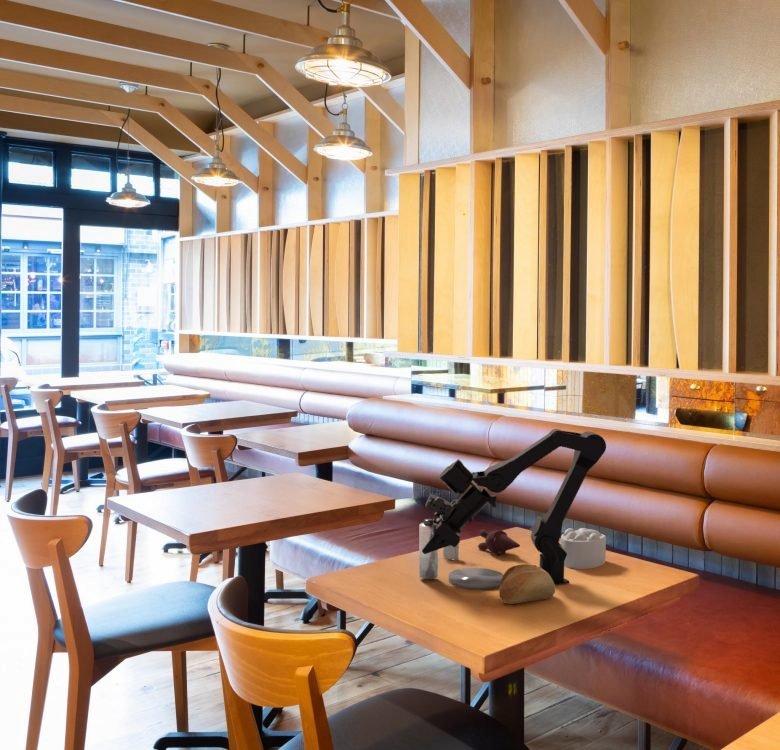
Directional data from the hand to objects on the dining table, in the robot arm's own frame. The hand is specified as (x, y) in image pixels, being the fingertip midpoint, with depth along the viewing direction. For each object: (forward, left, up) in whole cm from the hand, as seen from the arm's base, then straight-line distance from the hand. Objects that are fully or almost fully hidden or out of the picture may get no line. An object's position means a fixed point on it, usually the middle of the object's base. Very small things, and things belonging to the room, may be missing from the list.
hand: (423, 550), depth 203 cm
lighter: (+16, -14, -8) cm, 22 cm away
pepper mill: (-1, -1, -7) cm, 7 cm away
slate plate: (-6, -12, -7) cm, 15 cm away
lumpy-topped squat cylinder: (0, -46, -8) cm, 47 cm away
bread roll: (-22, -17, -8) cm, 29 cm away
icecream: (+15, -29, -8) cm, 33 cm away
